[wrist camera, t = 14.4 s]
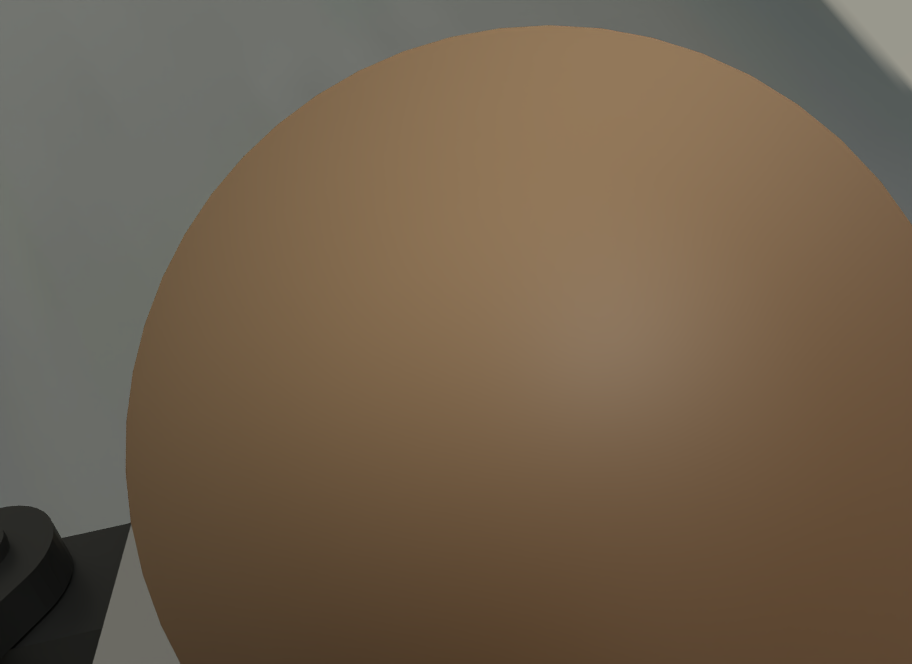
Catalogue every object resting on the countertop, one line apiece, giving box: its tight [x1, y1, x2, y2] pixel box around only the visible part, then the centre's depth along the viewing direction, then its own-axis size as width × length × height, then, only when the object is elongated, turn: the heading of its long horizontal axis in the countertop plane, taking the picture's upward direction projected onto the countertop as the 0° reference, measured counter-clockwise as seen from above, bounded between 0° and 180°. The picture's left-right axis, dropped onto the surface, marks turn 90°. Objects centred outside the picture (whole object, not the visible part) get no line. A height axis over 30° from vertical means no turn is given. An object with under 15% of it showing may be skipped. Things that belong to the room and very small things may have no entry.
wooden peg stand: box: [126, 25, 912, 664], centre depth 9 cm, size 9×9×11 cm
